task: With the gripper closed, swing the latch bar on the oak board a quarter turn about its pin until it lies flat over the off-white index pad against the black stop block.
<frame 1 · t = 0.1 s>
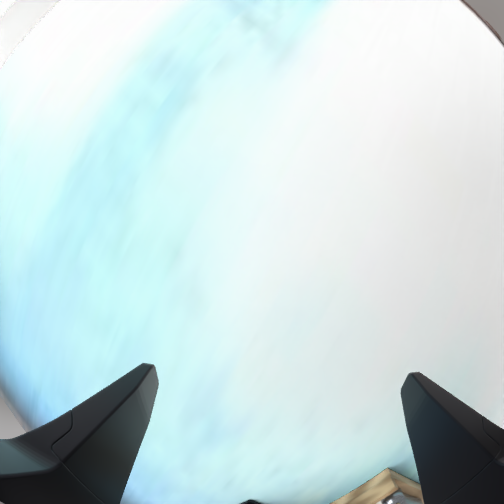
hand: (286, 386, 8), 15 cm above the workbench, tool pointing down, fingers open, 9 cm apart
door board: (385, 503, 26), on the workbench
z bracket: (22, 27, 23), on the workbench
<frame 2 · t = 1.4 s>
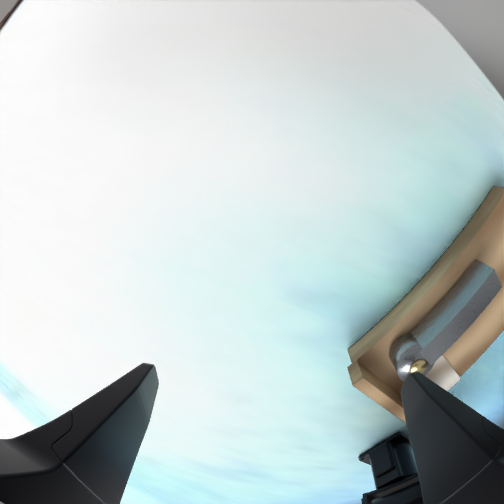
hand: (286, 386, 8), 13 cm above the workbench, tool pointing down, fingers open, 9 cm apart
door board: (459, 308, 20), on the workbench
latch bar: (447, 324, 17), point 4 cm above the workbench, hinge at 90.0°
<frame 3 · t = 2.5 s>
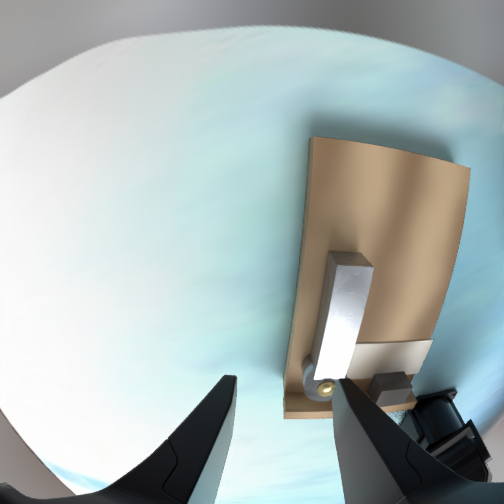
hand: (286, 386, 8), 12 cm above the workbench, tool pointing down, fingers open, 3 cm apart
door board: (373, 284, 20), on the workbench
latch bar: (335, 336, 17), point 4 cm above the workbench, hinge at 90.0°
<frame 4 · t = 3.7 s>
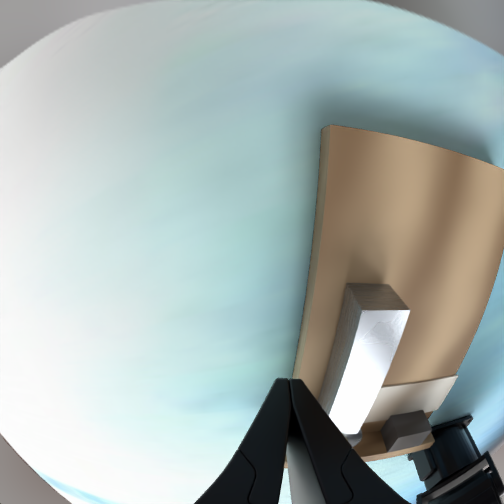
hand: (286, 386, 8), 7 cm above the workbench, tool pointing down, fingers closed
door board: (396, 316, 15), on the workbench
latch bar: (350, 387, 13), point 4 cm above the workbench, hinge at 90.0°
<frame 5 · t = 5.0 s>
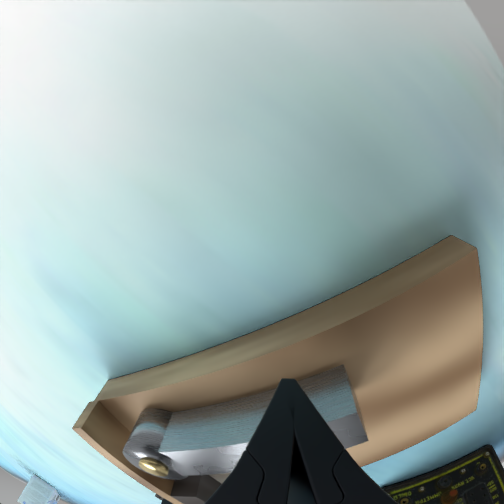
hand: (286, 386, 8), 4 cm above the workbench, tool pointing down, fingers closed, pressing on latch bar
door board: (303, 409, 14), on the workbench
latch bar: (228, 440, 10), point 4 cm above the workbench, hinge at 88.5°, touching gripper
light bulb box: (47, 485, 33), on the workbench
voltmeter: (429, 477, 18), on the workbench
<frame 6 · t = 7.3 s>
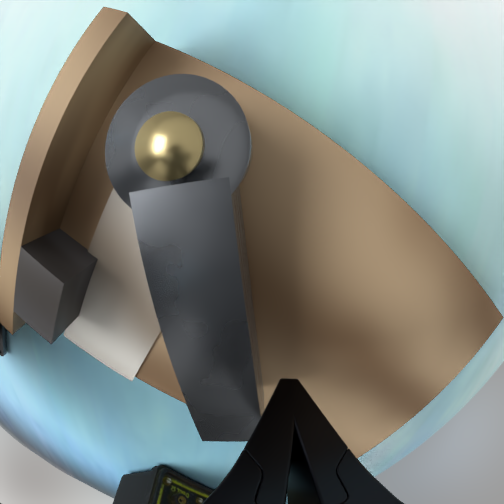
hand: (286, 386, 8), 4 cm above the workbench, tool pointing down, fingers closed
door board: (289, 306, 12), on the workbench
latch bar: (206, 293, 7), point 4 cm above the workbench, hinge at 39.3°, touching gripper
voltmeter: (199, 495, 19), on the workbench
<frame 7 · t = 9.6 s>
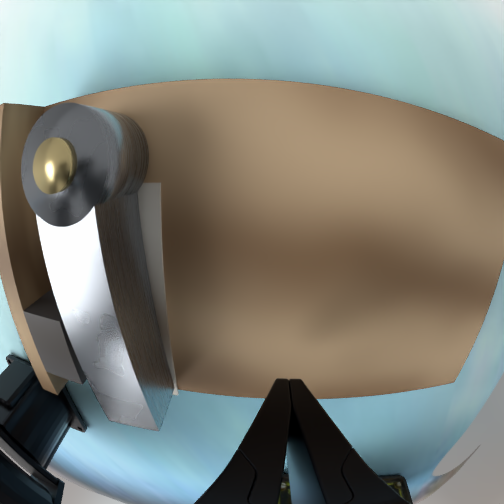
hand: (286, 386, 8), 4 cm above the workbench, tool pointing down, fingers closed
door board: (283, 252, 11), on the workbench
latch bar: (100, 288, 8), point 4 cm above the workbench, hinge at 5.0°
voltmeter: (326, 487, 18), on the workbench
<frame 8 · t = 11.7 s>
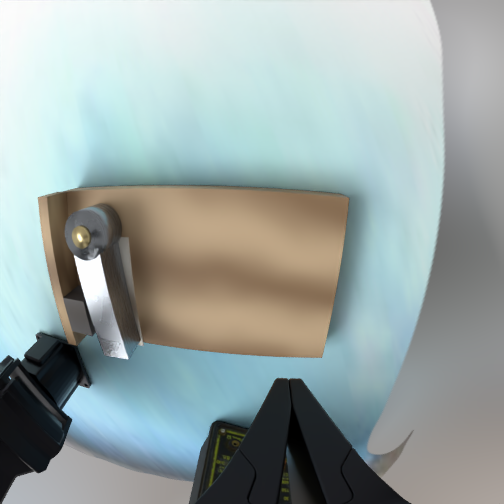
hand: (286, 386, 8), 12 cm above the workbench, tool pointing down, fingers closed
door board: (193, 267, 20), on the workbench
latch bar: (103, 285, 17), point 4 cm above the workbench, hinge at 4.9°
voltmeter: (266, 445, 28), on the workbench
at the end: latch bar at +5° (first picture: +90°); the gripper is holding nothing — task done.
